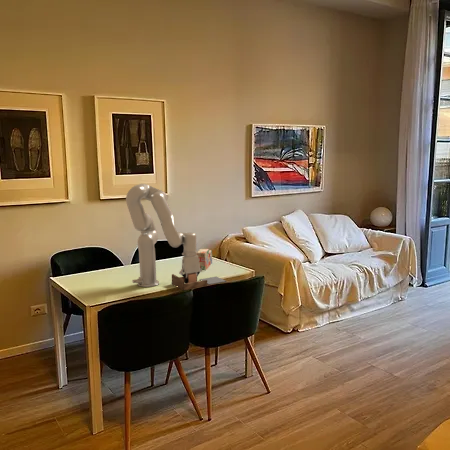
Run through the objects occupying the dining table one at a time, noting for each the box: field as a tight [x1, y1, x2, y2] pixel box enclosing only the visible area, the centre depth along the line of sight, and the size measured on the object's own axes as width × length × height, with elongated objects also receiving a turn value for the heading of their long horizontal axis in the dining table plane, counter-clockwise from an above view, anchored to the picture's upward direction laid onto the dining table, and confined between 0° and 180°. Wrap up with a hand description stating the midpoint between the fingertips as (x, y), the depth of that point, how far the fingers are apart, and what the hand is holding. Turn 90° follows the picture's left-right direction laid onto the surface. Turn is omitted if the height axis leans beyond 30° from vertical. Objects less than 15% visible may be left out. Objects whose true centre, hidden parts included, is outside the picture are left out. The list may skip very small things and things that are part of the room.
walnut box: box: [171, 273, 208, 291], centre depth 274 cm, size 16×15×6 cm
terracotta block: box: [187, 273, 198, 283], centre depth 275 cm, size 5×5×7 cm
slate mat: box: [199, 276, 227, 286], centre depth 283 cm, size 12×12×1 cm
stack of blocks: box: [197, 248, 213, 271], centre depth 317 cm, size 21×6×12 cm, turn 169°
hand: (190, 283), depth 275 cm, fingers closed on terracotta block, 5 cm apart
